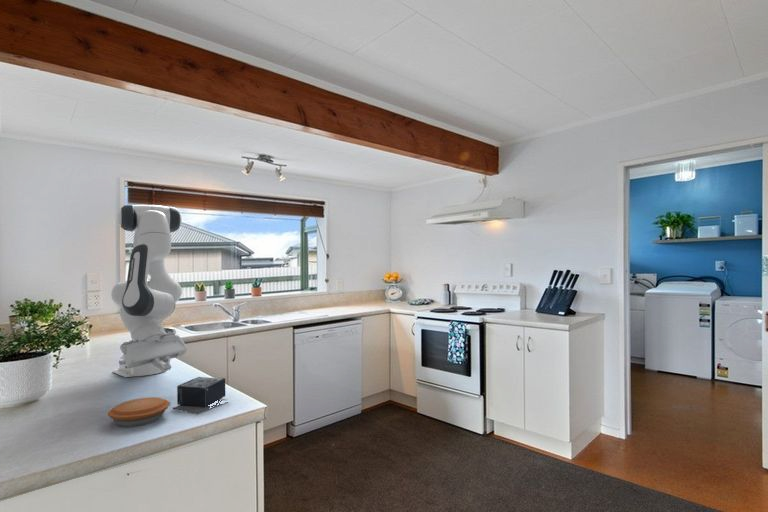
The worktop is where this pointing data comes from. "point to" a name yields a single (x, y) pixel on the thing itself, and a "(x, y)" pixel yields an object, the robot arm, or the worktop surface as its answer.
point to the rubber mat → (193, 408)
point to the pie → (138, 411)
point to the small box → (201, 391)
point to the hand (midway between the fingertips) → (166, 369)
